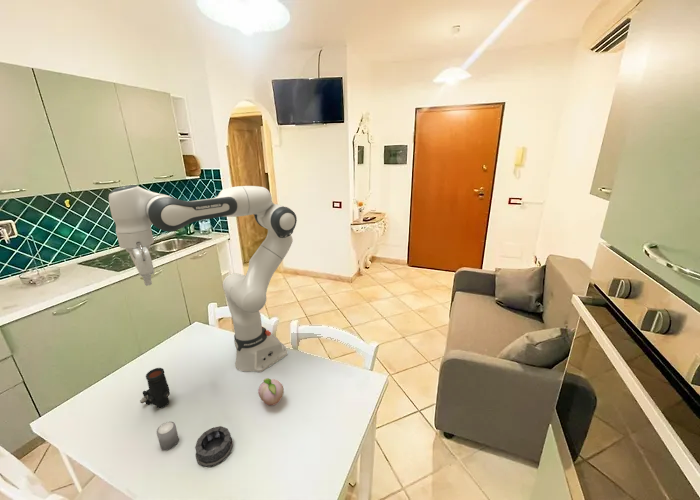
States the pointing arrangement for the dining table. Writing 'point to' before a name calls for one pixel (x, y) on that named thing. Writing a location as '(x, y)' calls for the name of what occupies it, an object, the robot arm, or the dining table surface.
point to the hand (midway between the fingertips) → (146, 280)
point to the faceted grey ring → (213, 446)
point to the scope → (156, 389)
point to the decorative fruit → (271, 391)
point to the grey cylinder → (167, 435)
